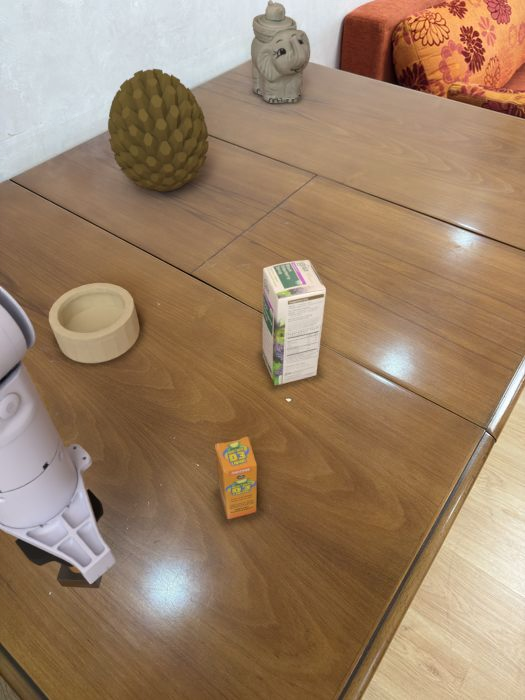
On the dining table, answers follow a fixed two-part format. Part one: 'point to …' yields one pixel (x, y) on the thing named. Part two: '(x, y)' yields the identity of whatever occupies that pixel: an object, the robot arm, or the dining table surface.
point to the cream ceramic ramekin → (94, 322)
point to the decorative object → (157, 131)
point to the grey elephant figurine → (278, 55)
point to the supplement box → (237, 477)
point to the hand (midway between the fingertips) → (70, 544)
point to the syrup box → (292, 320)
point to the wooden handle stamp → (75, 578)
